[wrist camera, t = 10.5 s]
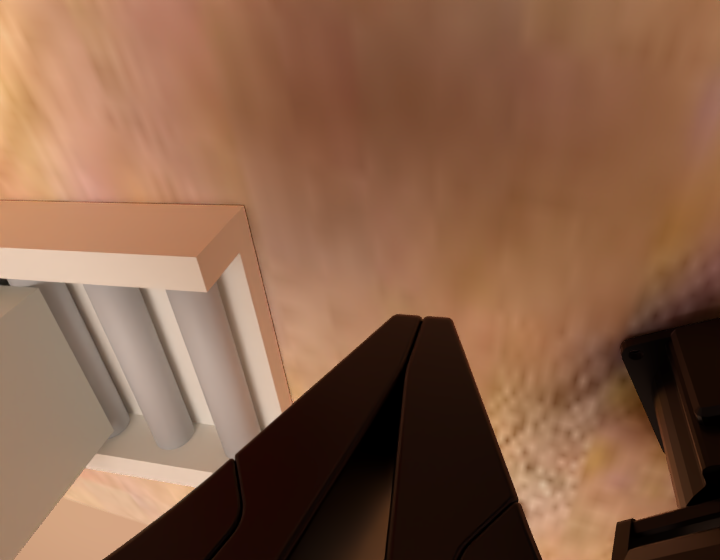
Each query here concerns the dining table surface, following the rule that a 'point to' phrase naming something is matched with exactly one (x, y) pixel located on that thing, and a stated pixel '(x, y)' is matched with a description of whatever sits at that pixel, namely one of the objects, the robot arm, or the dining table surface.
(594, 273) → the dining table surface
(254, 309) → the roller bed
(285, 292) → the dining table surface
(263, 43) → the dining table surface
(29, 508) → the beige block
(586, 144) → the dining table surface
